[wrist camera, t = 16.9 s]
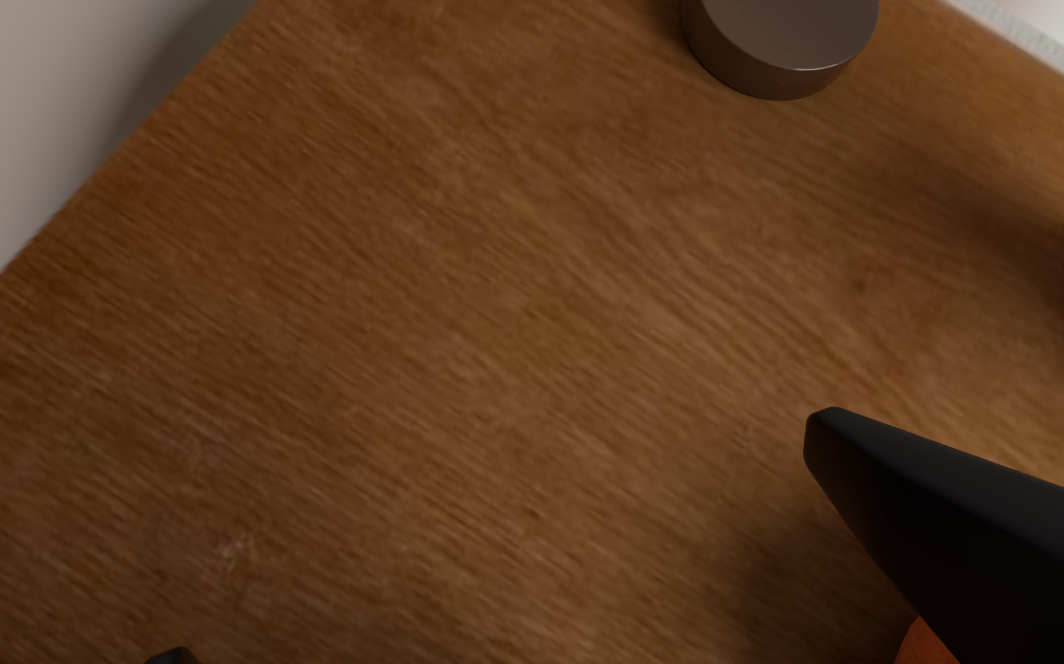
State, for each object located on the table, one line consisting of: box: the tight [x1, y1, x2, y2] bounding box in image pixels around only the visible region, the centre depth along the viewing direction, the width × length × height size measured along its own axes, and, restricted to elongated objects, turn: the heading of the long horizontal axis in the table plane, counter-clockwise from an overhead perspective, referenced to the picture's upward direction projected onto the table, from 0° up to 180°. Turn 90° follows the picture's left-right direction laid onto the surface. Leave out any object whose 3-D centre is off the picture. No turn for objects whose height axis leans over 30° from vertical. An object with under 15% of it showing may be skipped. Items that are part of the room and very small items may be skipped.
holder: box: [680, 0, 879, 100], centre depth 26 cm, size 8×8×2 cm
